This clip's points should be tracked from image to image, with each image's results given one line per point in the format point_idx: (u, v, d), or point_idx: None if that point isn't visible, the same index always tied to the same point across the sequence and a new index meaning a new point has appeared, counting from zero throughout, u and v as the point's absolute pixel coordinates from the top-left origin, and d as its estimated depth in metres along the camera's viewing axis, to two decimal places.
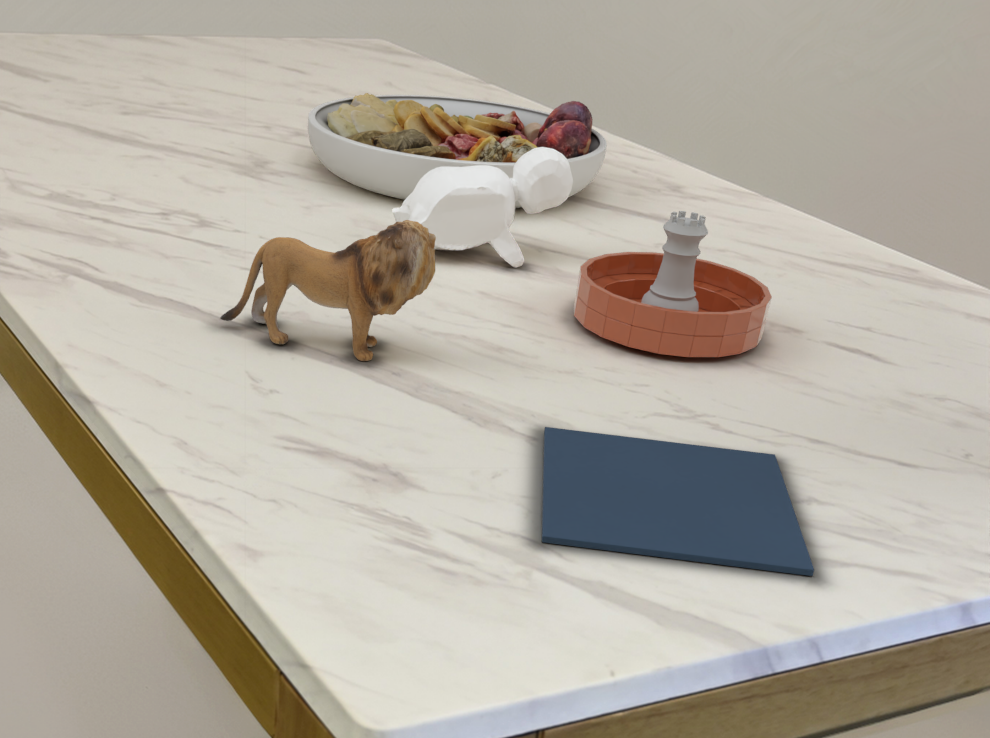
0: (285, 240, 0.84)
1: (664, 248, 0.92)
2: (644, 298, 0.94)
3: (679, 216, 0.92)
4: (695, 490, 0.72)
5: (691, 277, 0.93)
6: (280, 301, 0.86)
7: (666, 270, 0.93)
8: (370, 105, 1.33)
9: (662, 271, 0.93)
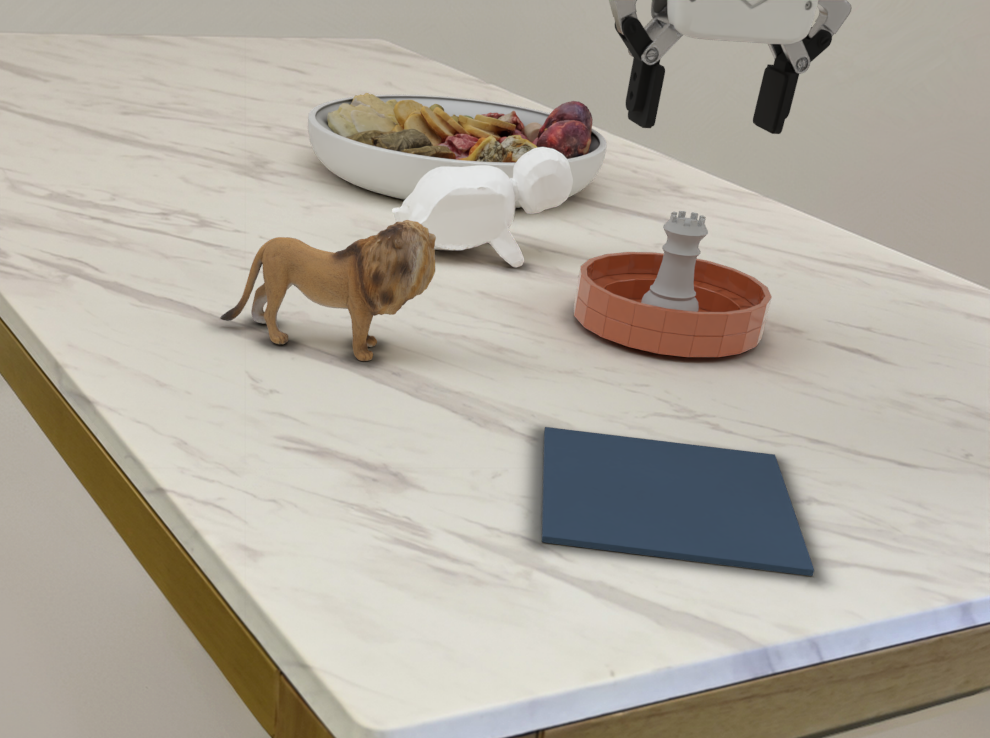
0: (285, 240, 0.84)
1: (664, 248, 0.92)
2: (644, 298, 0.94)
3: (679, 216, 0.92)
4: (695, 490, 0.72)
5: (691, 277, 0.93)
6: (280, 301, 0.86)
7: (666, 270, 0.93)
8: (370, 105, 1.33)
9: (662, 271, 0.93)
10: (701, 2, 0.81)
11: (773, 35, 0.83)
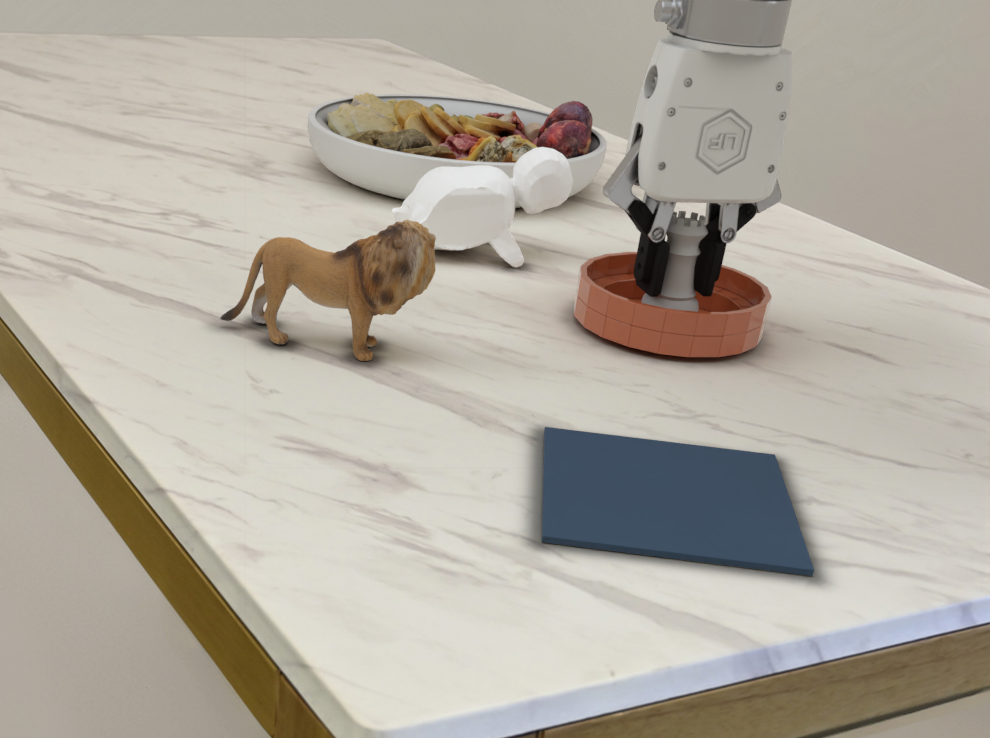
0: (285, 240, 0.84)
1: None
2: (644, 298, 0.94)
3: (679, 216, 0.92)
4: (695, 490, 0.72)
5: (691, 277, 0.93)
6: (280, 301, 0.86)
7: (666, 270, 0.93)
8: (370, 105, 1.33)
9: None
10: (669, 170, 0.86)
11: (738, 196, 0.88)
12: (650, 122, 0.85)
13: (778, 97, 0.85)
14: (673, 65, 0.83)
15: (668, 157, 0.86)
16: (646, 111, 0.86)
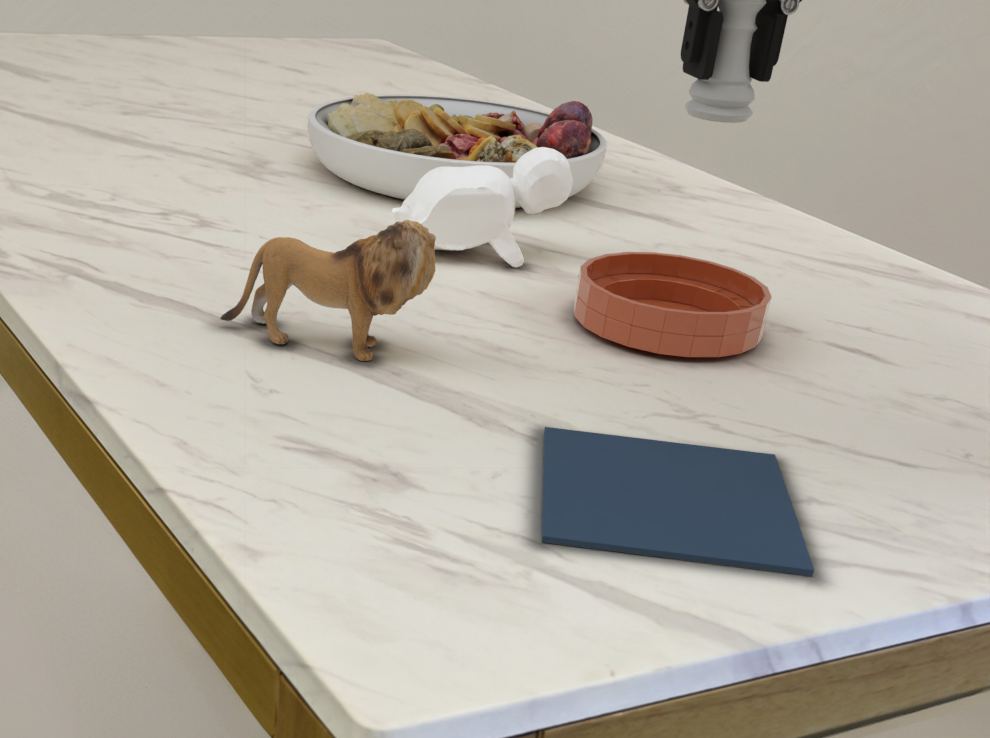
0: (285, 240, 0.84)
1: None
2: (692, 86, 0.83)
3: None
4: (695, 490, 0.72)
5: (746, 57, 0.81)
6: (280, 301, 0.86)
7: (717, 50, 0.81)
8: (370, 105, 1.33)
9: None
10: None
11: None
12: None
13: None
14: None
15: None
16: None
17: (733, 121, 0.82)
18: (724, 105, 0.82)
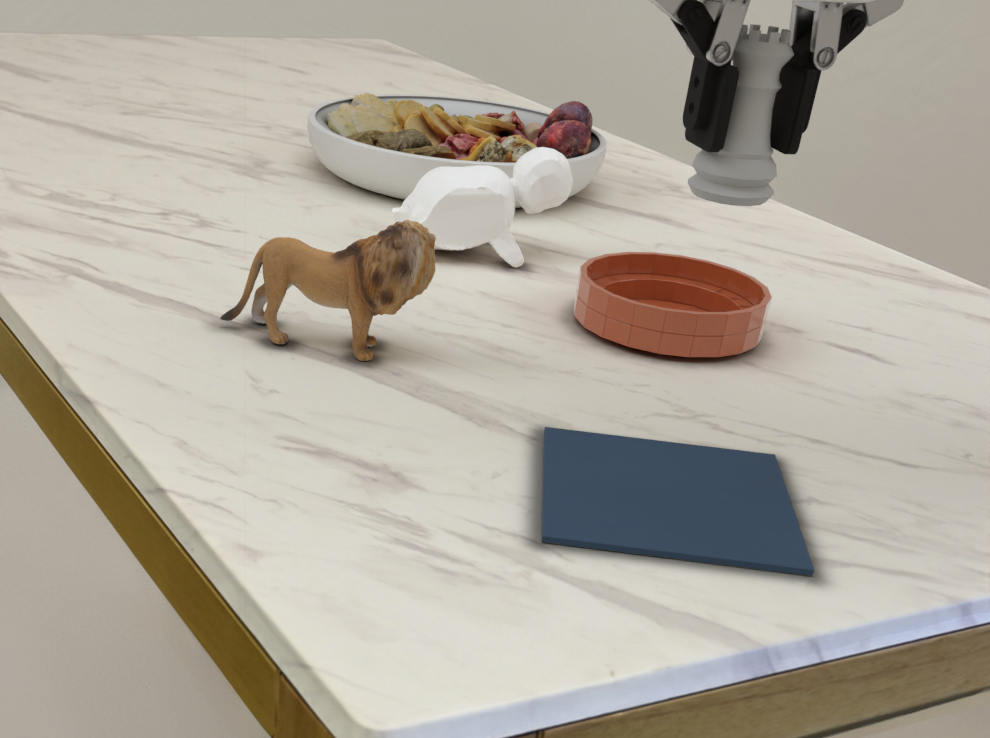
0: (285, 240, 0.84)
1: None
2: (697, 158, 0.65)
3: None
4: (695, 490, 0.72)
5: (768, 124, 0.63)
6: (280, 301, 0.86)
7: None
8: (370, 105, 1.33)
9: None
10: None
11: None
12: None
13: None
14: None
15: None
16: None
17: (749, 204, 0.64)
18: (738, 184, 0.64)
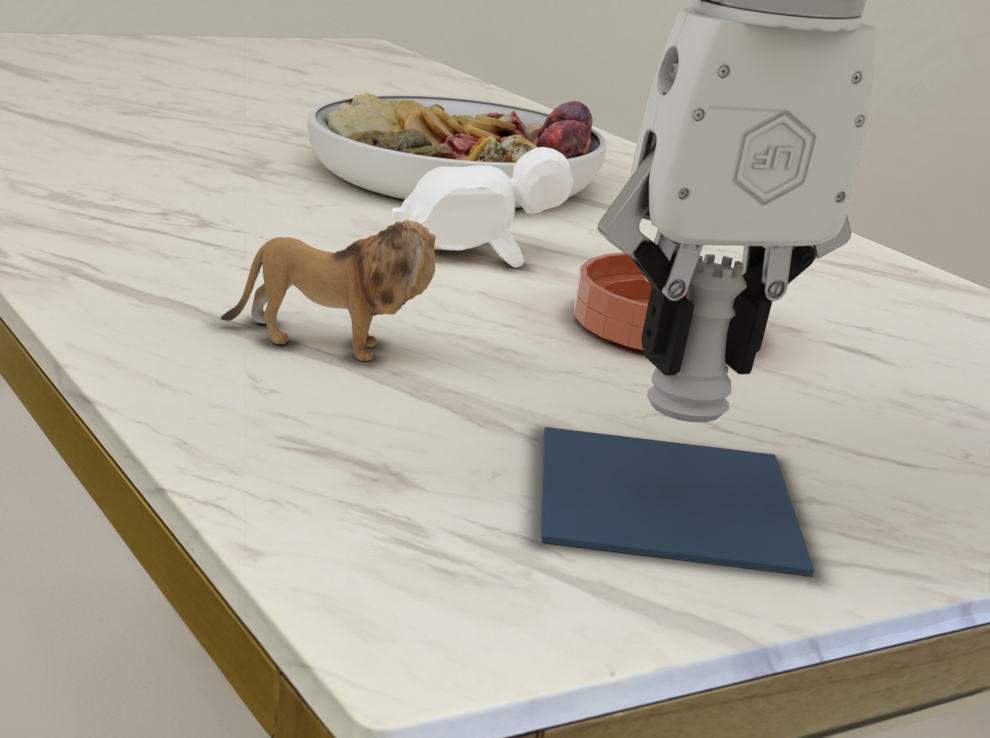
0: (285, 240, 0.84)
1: None
2: (655, 375, 0.67)
3: (705, 262, 0.65)
4: (695, 490, 0.72)
5: (722, 347, 0.66)
6: (280, 301, 0.86)
7: None
8: (370, 105, 1.33)
9: None
10: (695, 200, 0.59)
11: (793, 236, 0.61)
12: (667, 130, 0.58)
13: (855, 94, 0.58)
14: (703, 45, 0.56)
15: (693, 181, 0.59)
16: (661, 113, 0.59)
17: (705, 421, 0.67)
18: (694, 403, 0.66)
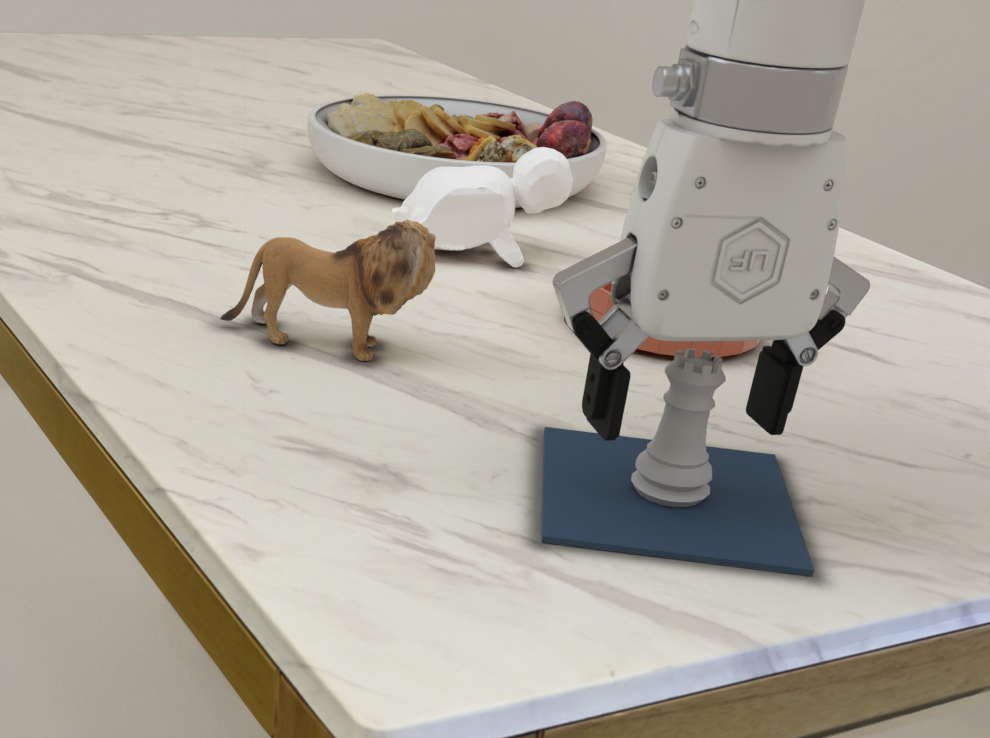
0: (285, 240, 0.84)
1: (666, 398, 0.68)
2: (639, 461, 0.70)
3: (686, 355, 0.68)
4: None
5: (702, 437, 0.69)
6: (280, 301, 0.86)
7: (668, 428, 0.68)
8: (370, 105, 1.33)
9: (663, 428, 0.69)
10: (674, 301, 0.62)
11: (769, 332, 0.64)
12: (647, 235, 0.61)
13: (827, 200, 0.61)
14: (680, 158, 0.59)
15: (672, 283, 0.61)
16: (641, 219, 0.61)
17: (687, 506, 0.70)
18: (676, 490, 0.69)
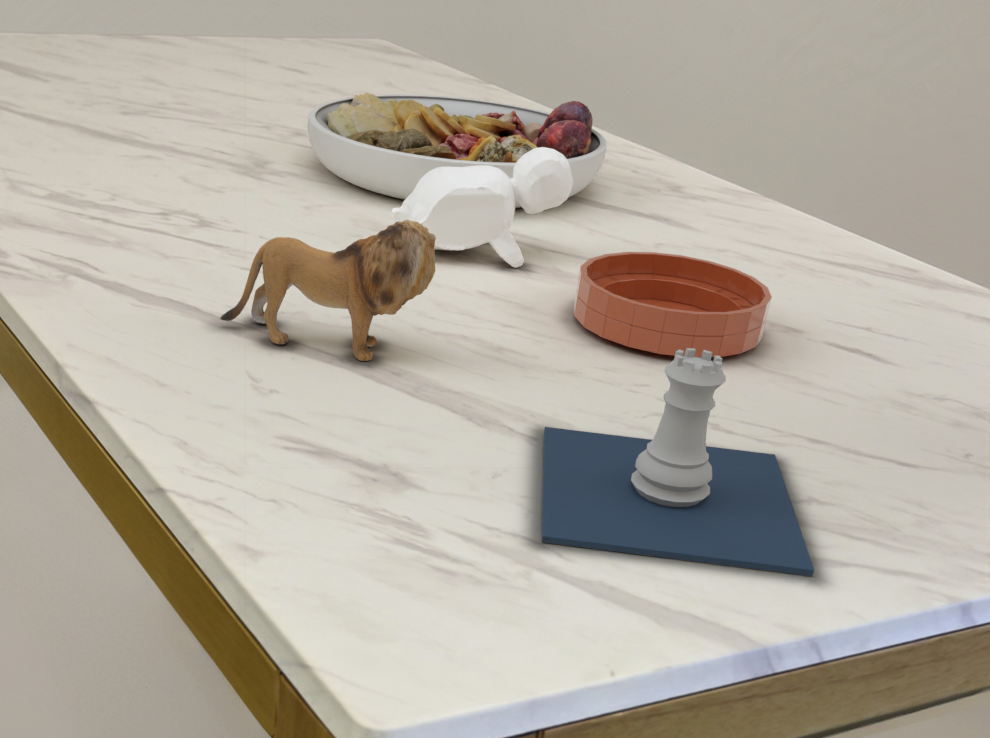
0: (285, 240, 0.84)
1: (667, 398, 0.68)
2: (639, 461, 0.70)
3: (686, 355, 0.68)
4: None
5: (703, 437, 0.69)
6: (280, 301, 0.86)
7: (668, 428, 0.68)
8: (370, 105, 1.33)
9: (663, 428, 0.69)
10: None
11: None
12: None
13: None
14: None
15: None
16: None
17: (687, 506, 0.70)
18: (676, 490, 0.69)
